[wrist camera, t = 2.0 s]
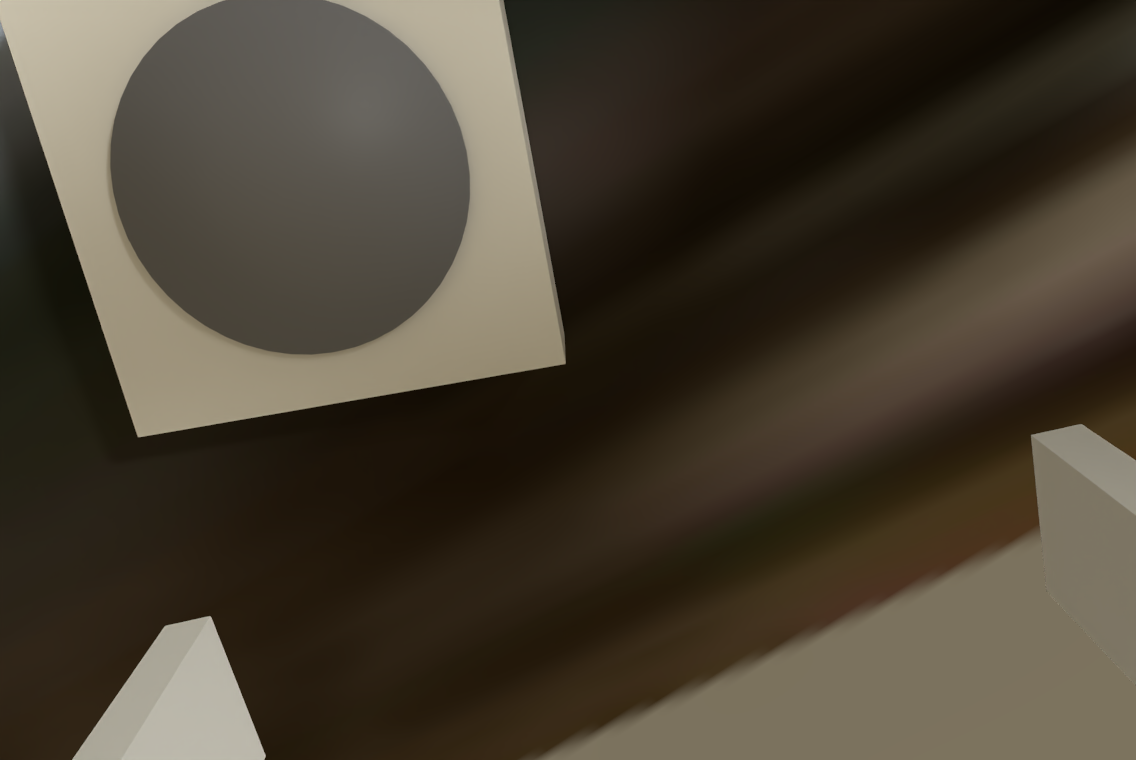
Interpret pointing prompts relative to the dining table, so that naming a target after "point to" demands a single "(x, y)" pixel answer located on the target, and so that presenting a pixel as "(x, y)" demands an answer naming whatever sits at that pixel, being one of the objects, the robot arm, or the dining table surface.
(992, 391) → the dining table surface
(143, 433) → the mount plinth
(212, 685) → the robot arm
